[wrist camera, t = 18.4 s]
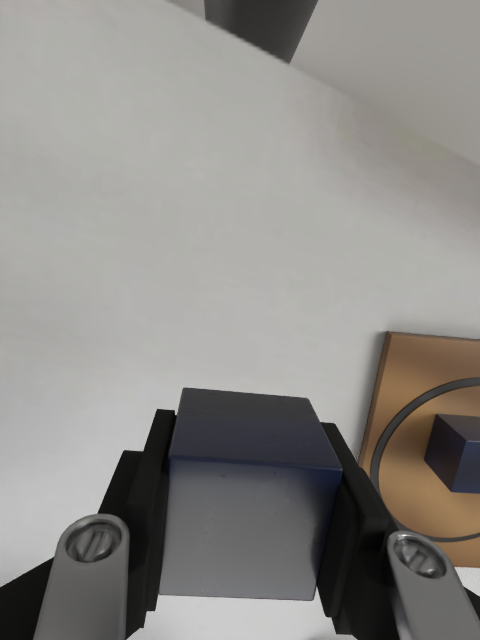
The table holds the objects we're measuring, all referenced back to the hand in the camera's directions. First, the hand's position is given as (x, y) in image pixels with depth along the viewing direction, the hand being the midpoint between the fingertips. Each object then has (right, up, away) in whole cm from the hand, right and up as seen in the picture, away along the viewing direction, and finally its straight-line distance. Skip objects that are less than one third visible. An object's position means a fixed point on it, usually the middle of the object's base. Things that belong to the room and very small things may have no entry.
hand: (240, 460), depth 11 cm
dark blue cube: (+16, -5, +16) cm, 24 cm away
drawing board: (+17, -7, +18) cm, 26 cm away
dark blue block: (0, 0, +1) cm, 1 cm away
